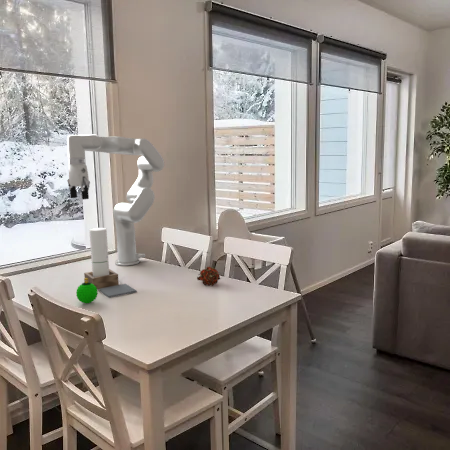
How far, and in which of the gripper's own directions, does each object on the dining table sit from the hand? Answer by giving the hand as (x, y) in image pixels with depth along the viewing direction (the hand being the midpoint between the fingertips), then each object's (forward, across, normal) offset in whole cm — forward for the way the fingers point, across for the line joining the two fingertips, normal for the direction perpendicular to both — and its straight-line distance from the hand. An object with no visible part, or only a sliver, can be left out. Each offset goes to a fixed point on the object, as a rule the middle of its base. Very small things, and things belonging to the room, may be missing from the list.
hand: (79, 198), depth 224 cm
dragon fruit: (+36, -60, -23) cm, 74 cm away
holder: (+36, -22, +6) cm, 43 cm away
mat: (+36, -36, +7) cm, 52 cm away
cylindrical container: (+37, -22, +6) cm, 43 cm away
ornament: (+37, -39, +24) cm, 59 cm away
